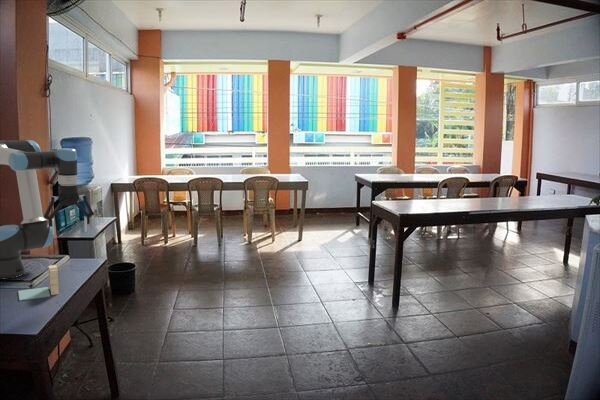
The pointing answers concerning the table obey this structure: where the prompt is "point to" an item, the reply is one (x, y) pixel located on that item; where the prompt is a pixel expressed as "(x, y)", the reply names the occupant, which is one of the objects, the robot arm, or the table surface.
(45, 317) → the table surface
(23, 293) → the mat
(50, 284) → the slab
